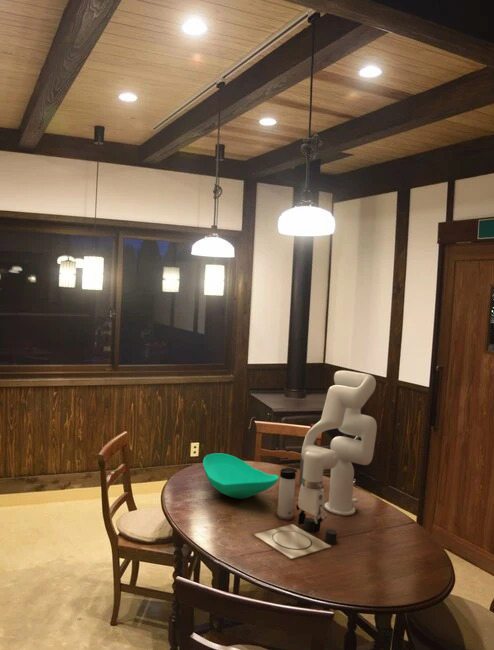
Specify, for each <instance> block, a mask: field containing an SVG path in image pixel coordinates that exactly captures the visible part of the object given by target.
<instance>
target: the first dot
mask: <svg viewBox="0 0 494 650" xmlns="http://www.w3.org/2000/svg"><path fill="white" fill-rule="evenodd" d="M314 522H315V520H314V518H313V517H305V519H304V524H303V529H302V530H304V531H305V532H307V533H313V524H314Z"/></svg>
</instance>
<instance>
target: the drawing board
mask: <svg viewBox="0 0 494 650" xmlns="http://www.w3.org/2000/svg"><path fill="white" fill-rule="evenodd" d="M253 536H254V537H256V538H257V539H259V540H261V542H263V543H265V544H266V545H268V546H269V547H271V548H273V549H274V550H276V551H277V552H279V553H280V554H281V555H283V556H285V557H287V558H288V559H290V560H294V559H298V558H301V557H304V556H307V555H310V554H314V553H318V552H320V551H323V550H324V551H325V550H327V549H330V548H332V545H331V544H328V543H326V542H325V541H323V540H321V539H320V538H318V537H316V536H314V535H313V534H311V533H310V532H307V531H305V530H304V529H301V528H300V527H298V526H297V525H295V524H292V523H291V524H288V525H283V526H280V527H276V528H272V529H268V530H264V531H260V532H256V533H253Z"/></svg>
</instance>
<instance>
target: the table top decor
mask: <svg viewBox="0 0 494 650" xmlns="http://www.w3.org/2000/svg"><path fill="white" fill-rule="evenodd" d="M202 465H203V469H204V473H205V475H206V477H207V480H208V481H209V483H210V485H211V486H212V487H213V488H214V489H216V490H217V491H218V492H220V494H223V495H225V496H228V497H229V498H233V499H238V500H245V499H248V498H251V497H253V496H255V495H258V494H260V493H262V492H265V491H267V490H268V489H270V488H272V487H273V486H274V485H275V484H276V483H277V482H278V481H279V479H280V476H279V475H277V474H268V473H266V472H264V471H262V470H260V469H257V468H255V467H253V466H251V465H250V464H248V463H247V462H246V461H244V460H242V459H240V458H238V457H236V456H234V455H231V454H228V453H221V452H218V453H215V452H214V453H210V454H207V455H205V456H204V457H203V460H202Z"/></svg>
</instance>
